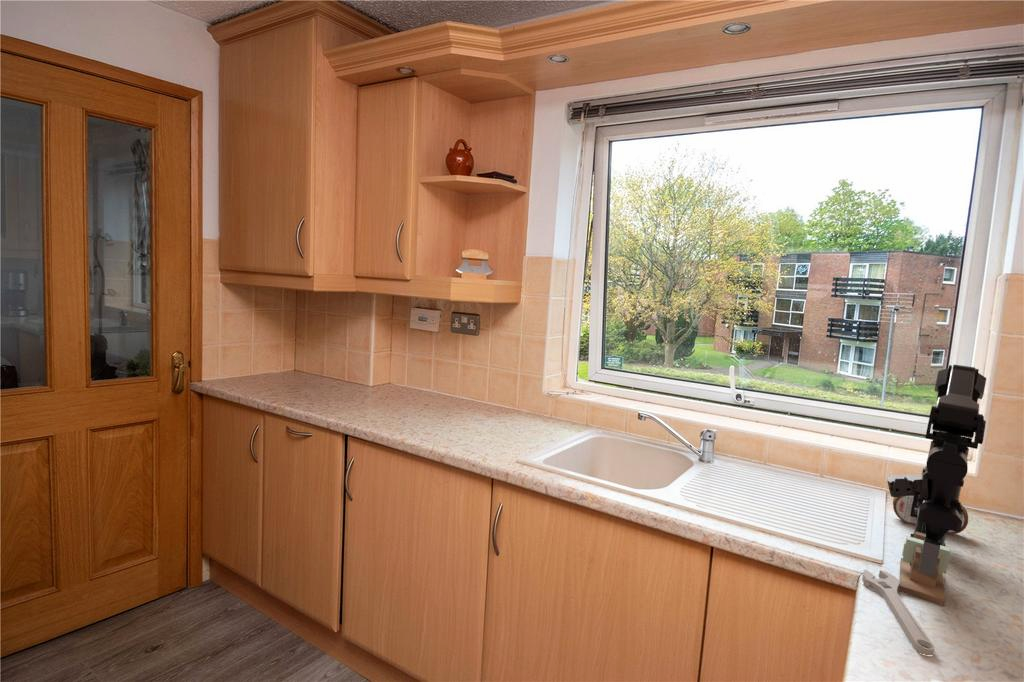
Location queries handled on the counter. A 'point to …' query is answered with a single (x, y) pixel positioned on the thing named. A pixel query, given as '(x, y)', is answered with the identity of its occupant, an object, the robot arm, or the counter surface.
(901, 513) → the tin
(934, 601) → the stand
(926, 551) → the shaft
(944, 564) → the spacer
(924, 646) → the adjustable wrench
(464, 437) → the counter surface
